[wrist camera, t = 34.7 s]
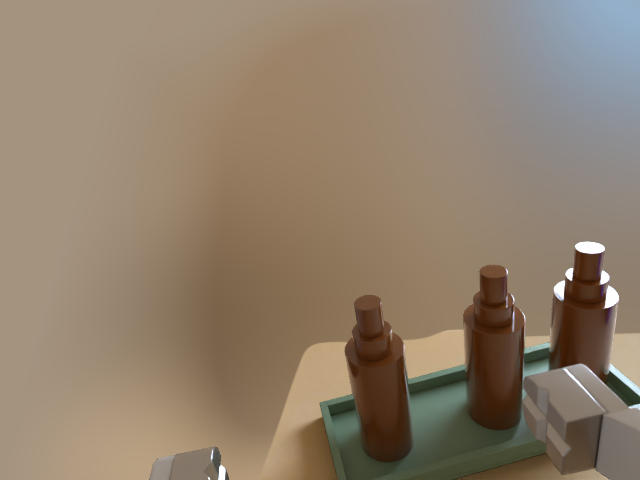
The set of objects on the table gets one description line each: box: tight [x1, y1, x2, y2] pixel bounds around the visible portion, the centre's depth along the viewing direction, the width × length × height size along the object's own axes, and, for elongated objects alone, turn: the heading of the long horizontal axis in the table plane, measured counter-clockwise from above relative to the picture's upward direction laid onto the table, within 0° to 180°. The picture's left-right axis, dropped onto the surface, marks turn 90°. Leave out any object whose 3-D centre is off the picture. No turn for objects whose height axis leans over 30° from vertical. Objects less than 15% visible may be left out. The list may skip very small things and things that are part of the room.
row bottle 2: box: [548, 242, 619, 386], centre depth 44 cm, size 6×6×17 cm
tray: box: [320, 342, 640, 480], centre depth 47 cm, size 32×12×2 cm, turn 100°
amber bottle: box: [345, 295, 414, 462], centre depth 42 cm, size 6×6×17 cm
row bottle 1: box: [463, 265, 525, 430], centre depth 44 cm, size 6×6×17 cm
